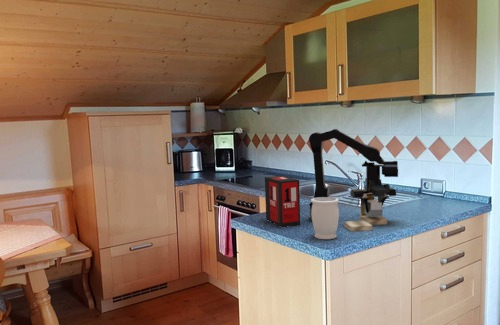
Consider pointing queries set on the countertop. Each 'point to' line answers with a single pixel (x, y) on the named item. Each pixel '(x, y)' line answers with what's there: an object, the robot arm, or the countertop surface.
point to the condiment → (370, 197)
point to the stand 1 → (357, 226)
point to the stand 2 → (374, 220)
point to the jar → (325, 217)
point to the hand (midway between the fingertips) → (373, 212)
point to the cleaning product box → (282, 200)
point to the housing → (374, 208)
